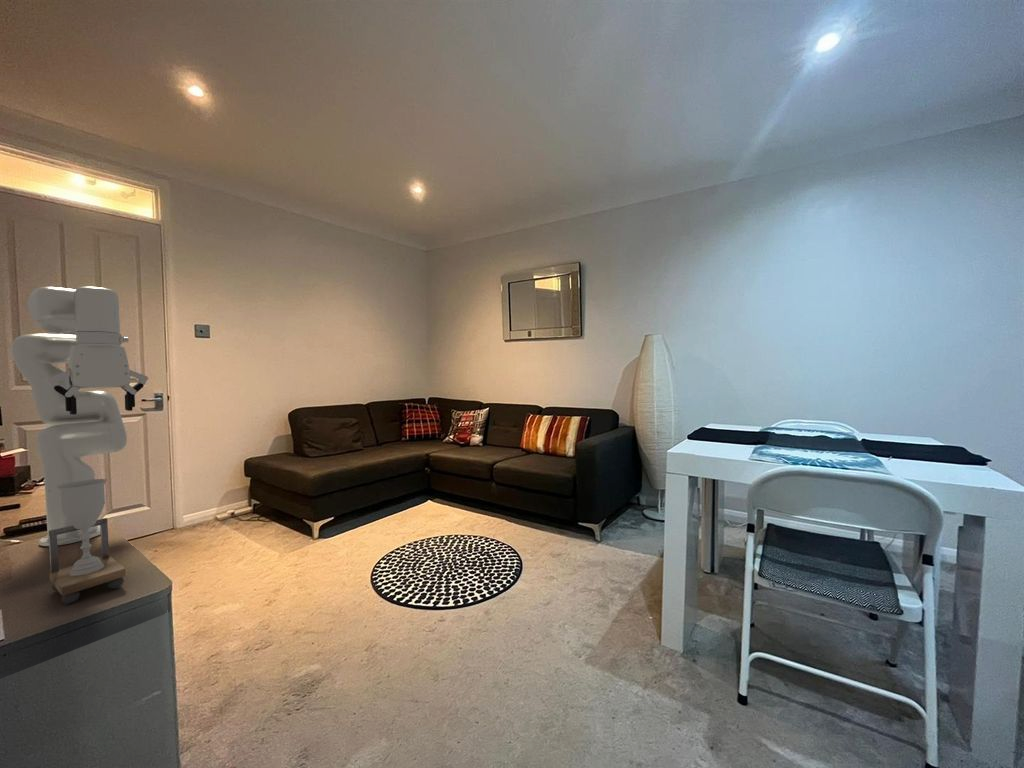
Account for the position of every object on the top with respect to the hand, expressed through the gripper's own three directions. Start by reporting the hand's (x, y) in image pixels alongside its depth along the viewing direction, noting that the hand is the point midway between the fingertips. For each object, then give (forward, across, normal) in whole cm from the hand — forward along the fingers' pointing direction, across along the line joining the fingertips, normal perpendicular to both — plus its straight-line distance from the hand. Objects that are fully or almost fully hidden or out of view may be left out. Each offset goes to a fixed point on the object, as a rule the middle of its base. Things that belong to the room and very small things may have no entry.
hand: (102, 412), depth 99 cm
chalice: (+31, +6, +17) cm, 36 cm away
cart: (+35, +6, +17) cm, 40 cm away
